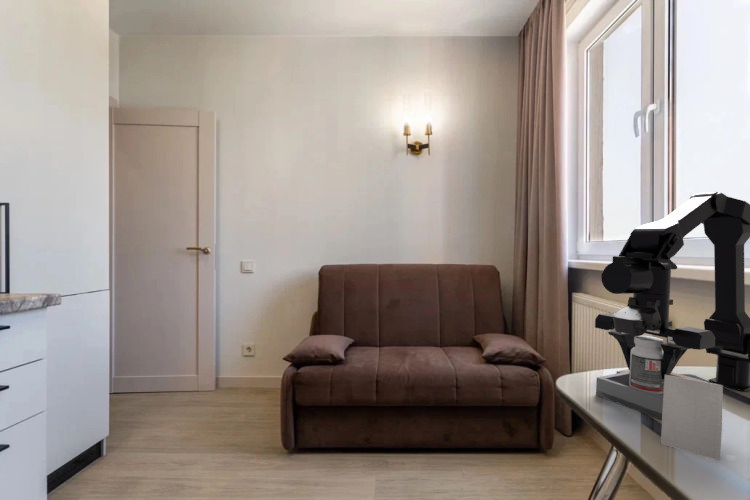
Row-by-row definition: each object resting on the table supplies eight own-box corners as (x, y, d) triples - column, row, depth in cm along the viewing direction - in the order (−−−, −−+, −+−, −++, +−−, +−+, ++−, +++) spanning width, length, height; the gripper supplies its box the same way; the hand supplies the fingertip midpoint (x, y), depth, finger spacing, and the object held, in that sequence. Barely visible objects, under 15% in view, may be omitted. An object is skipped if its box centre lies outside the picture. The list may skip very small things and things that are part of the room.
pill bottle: (670, 397, 74) (673, 343, 74) (636, 393, 75) (639, 340, 75) (655, 386, 79) (658, 336, 79) (623, 383, 81) (626, 333, 80)
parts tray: (631, 387, 85) (632, 370, 85) (698, 408, 75) (699, 390, 75) (595, 394, 80) (596, 377, 80) (662, 419, 69) (663, 399, 69)
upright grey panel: (719, 460, 56) (723, 389, 56) (660, 444, 60) (664, 377, 60) (718, 449, 59) (721, 382, 59) (661, 435, 63) (665, 371, 63)
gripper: (578, 288, 81) (575, 365, 82) (684, 301, 65) (679, 398, 65) (612, 286, 87) (609, 359, 87) (718, 299, 70) (714, 388, 70)
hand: (647, 374), depth 77 cm, fingers closed on pill bottle, 6 cm apart
